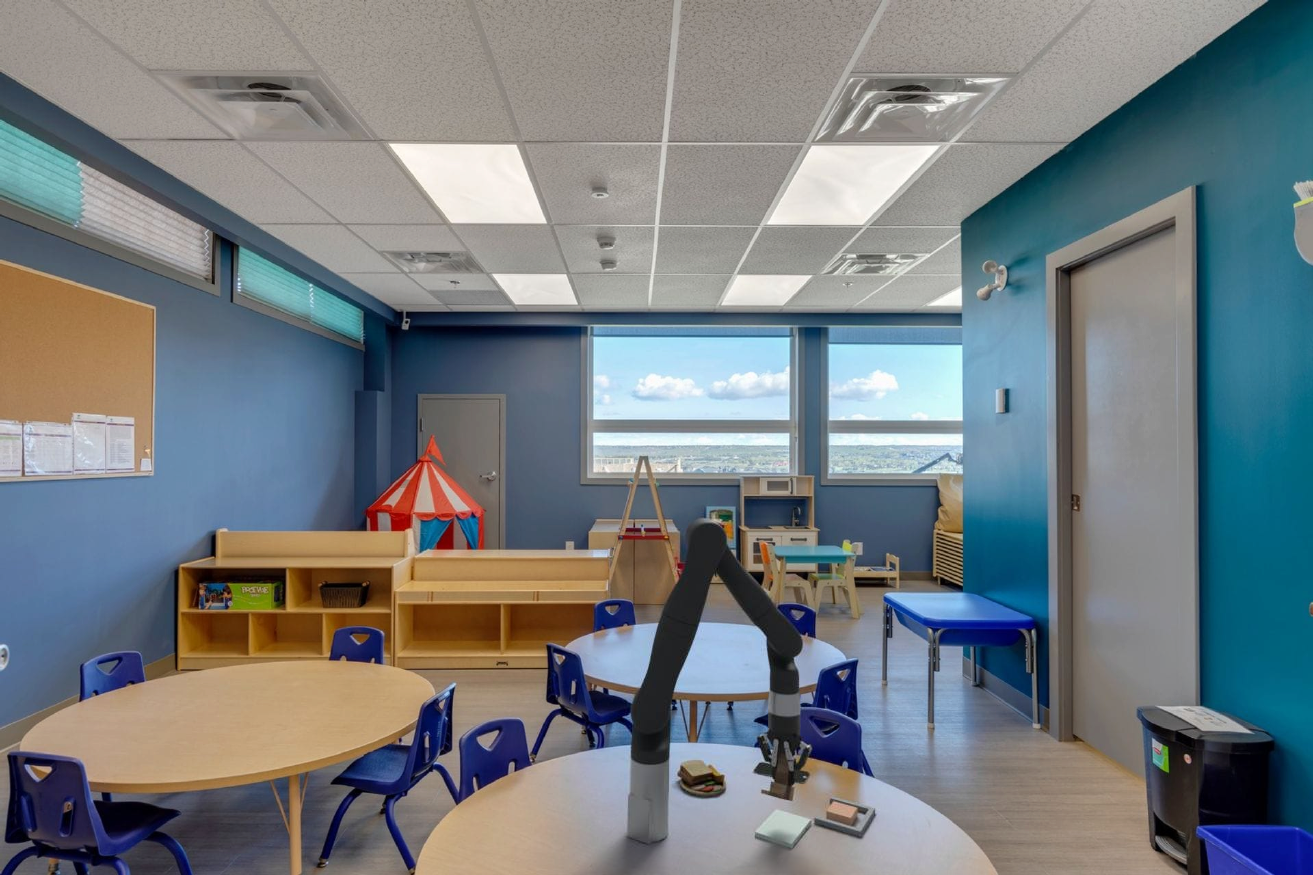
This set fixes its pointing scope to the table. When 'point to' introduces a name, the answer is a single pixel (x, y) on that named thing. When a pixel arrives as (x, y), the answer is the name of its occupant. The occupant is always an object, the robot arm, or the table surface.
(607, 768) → the table surface
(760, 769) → the smartphone
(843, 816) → the tile
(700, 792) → the toy sandwich meal
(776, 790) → the brown block
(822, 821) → the bay
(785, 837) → the board
